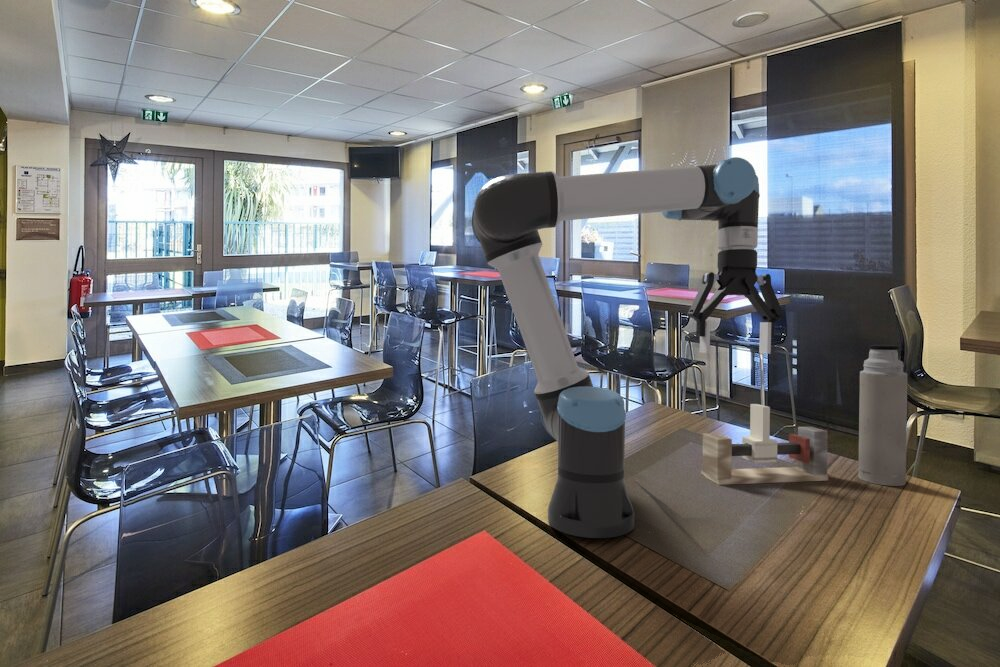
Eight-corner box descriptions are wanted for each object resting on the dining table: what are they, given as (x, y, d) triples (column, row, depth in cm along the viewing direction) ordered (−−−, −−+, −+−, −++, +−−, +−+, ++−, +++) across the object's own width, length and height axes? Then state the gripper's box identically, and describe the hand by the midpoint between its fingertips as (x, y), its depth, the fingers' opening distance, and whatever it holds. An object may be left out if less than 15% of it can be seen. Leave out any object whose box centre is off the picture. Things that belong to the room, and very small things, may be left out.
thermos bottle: (850, 474, 115) (852, 343, 114) (890, 475, 114) (892, 344, 113) (872, 485, 107) (874, 345, 106) (915, 486, 106) (917, 345, 106)
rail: (718, 484, 107) (719, 435, 107) (701, 474, 114) (701, 428, 114) (830, 480, 110) (831, 432, 110) (806, 471, 117) (807, 425, 117)
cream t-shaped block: (754, 462, 109) (755, 407, 109) (742, 457, 114) (742, 404, 114) (777, 462, 110) (777, 406, 110) (764, 456, 114) (764, 403, 114)
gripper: (689, 245, 105) (687, 353, 106) (804, 249, 108) (802, 354, 109) (672, 250, 113) (670, 351, 113) (780, 254, 116) (778, 352, 116)
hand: (734, 353), depth 111 cm, fingers open, 13 cm apart
